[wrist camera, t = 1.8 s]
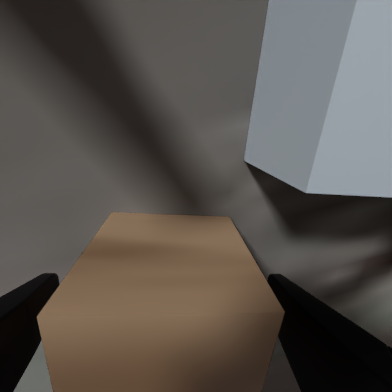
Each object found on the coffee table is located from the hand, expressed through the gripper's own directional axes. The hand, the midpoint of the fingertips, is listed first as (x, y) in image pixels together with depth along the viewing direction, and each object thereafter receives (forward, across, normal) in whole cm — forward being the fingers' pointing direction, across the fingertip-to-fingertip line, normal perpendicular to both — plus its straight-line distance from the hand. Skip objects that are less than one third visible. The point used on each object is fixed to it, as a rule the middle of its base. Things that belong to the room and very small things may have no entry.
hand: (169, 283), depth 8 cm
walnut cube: (+1, 0, 0) cm, 1 cm away
